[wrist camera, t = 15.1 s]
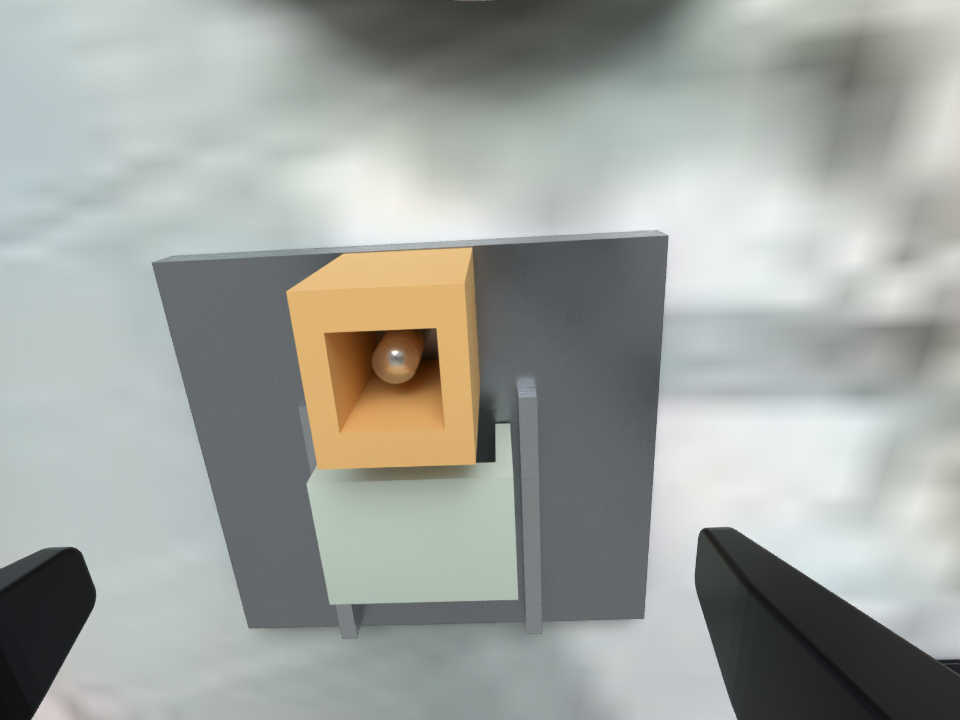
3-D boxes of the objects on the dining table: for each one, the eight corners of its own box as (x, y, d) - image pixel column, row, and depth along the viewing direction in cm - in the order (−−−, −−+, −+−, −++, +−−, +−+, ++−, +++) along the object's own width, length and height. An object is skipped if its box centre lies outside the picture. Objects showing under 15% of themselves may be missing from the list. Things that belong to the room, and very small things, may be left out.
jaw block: (480, 385, 18) (475, 464, 14) (362, 390, 19) (317, 469, 14) (472, 247, 17) (464, 283, 12) (343, 253, 17) (286, 291, 12)
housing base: (636, 595, 23) (670, 700, 18) (260, 605, 24) (207, 709, 19) (657, 230, 18) (711, 255, 13) (172, 255, 18) (71, 288, 14)
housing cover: (514, 532, 20) (518, 599, 17) (354, 536, 21) (329, 604, 17) (510, 423, 19) (513, 476, 16) (336, 430, 19) (306, 483, 16)
